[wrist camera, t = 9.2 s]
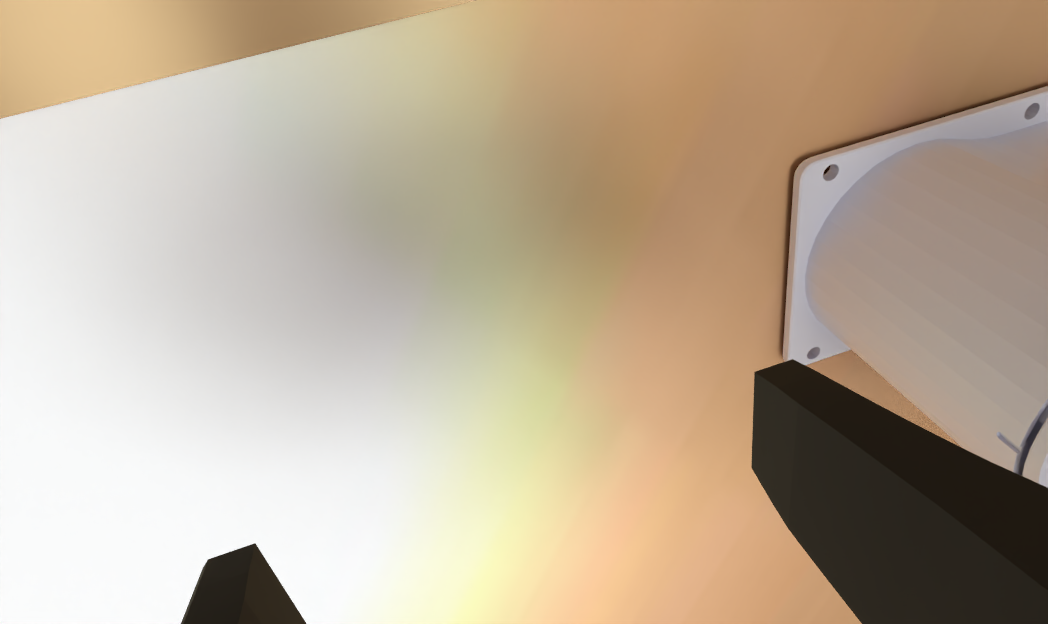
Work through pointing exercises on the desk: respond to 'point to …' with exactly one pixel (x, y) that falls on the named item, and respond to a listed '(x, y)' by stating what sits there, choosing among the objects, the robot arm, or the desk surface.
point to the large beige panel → (159, 39)
